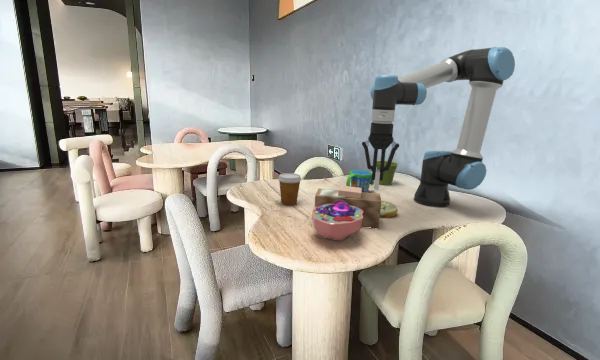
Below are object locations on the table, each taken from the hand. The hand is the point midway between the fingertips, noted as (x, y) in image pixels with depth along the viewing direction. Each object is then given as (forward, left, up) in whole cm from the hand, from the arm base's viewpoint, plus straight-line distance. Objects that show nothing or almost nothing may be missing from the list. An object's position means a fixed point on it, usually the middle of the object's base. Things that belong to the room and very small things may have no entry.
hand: (376, 188), depth 125 cm
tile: (+5, 0, -2) cm, 6 cm away
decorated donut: (-4, -12, -14) cm, 19 cm away
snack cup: (+5, -38, -13) cm, 41 cm away
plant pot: (-8, -60, -13) cm, 62 cm away
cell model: (+12, +15, -13) cm, 24 cm away
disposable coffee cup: (+34, -13, -13) cm, 39 cm away
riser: (+10, 0, -13) cm, 16 cm away
